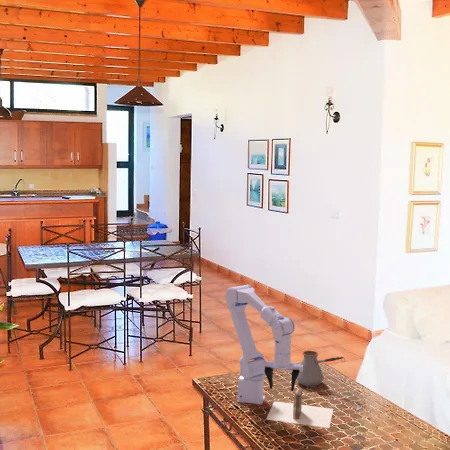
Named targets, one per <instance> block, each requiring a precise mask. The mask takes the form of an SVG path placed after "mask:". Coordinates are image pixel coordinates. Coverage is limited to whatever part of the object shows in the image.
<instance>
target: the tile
mask: <svg viewBox="0 0 450 450" xmlns="http://www.w3.org/2000/svg"><path fill="white" fill-rule="evenodd" d="M302 400H303V389H295V392H294V395H293V404H294V405H293V419H299V417H300V414H301V407H302V405H303V403H302Z"/></svg>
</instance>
